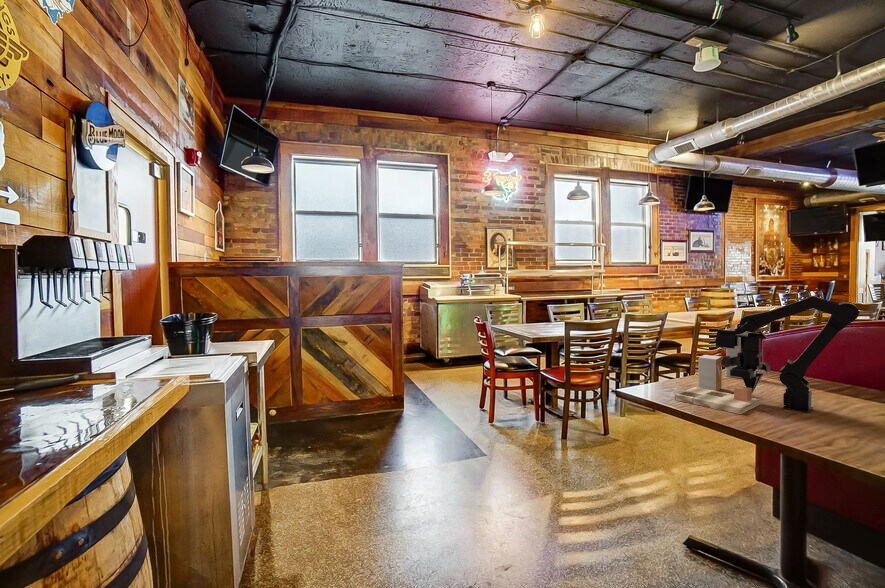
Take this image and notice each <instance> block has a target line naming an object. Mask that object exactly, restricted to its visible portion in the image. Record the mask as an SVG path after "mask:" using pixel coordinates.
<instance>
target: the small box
mask: <svg viewBox="0 0 885 588" xmlns="http://www.w3.org/2000/svg"><path fill="white" fill-rule="evenodd" d="M722 357H723V356H719V355H711V354H703V355H700V356H699V357H698V388H703V389H708V390H714V391H720V390H722V387H723V386H722V383H723V381H722V378H723V377H722V375H723V373H722V371H723V370H722V369H723V367H722V365H723V364H721V362H722V361H721V360H722Z"/></svg>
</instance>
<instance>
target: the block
mask: <svg viewBox="0 0 885 588" xmlns="http://www.w3.org/2000/svg"><path fill="white" fill-rule="evenodd" d="M733 394H734V399H736V400H741V401H746V402H748V401H750V400H752V398H753V393H752V388H748V387H746V386H741V385H738V386H736V387H734V388H733Z"/></svg>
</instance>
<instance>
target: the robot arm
mask: <svg viewBox="0 0 885 588" xmlns="http://www.w3.org/2000/svg"><path fill="white" fill-rule="evenodd" d="M811 309H813V310H817V311H821V312H823V313H826V314H829V315H830V316H829V318H828V320H827V322H826V324H825V325H824V326H823V328H822V329H821V330H820V331H819V332H818V334H817V335H816V336H815V337H814V339H812V341H811V342H810V343H809V344H808V345H807V347H806V348H805V349H804V350H803V352H802V353H800V355H799V356H798V357H797V358H796V359H795V360H793V361H792V360H790V359H787V362H786V363H785V365H784V366H782V367H781V368H780V370H779V373H780V374H779V381H780V382H781V384H782V385H783V386H785V387H786V389H785V391H784V392H783V395H782V396H783V397H782V398H783V400H782V401H783V408H784V409H787V410H791V411H792V410H793V411H798V412H803V413H809V412H811V411H812V410H813V409H814V407H813V406H812V401H813V400H812V394H813V393H812V390H810V386H811V383H810V382H809V381H808V380H807V379H806V378H805V375H806V373H807V371H808V370H809V367H810V366H811V365H812V363H814V361H815V360H816V359H817V357H818V356H819V355H820V354H821V353H822V352H823V351H824V350H825V348H826V347H827V346H828V345H829V344H830V343H831V341H833V339H834V338H835V337H836V336H837V334H838V333H839V332H841V331H842V330H843V329H845V328H847V326H849V325H850V324H852V323H853V322H854V321H855V320H857V319H858V317H859V315H860V311H859V310H860V309H859V308H858V307H857V306H856V304H854V303H852V302H848V301H847V302H846V301H845V302H838V301H833V300H830V299H825V298H823V297H819V296H816V295H810V296H808V297H806V298H803V299H801V300H797V301H794V302H792V303H791V302H790V303H789V304H785V305H783V306H780V307H777V308H775V309H771V310H767V311H762V312H756V313H749V314H747V315H744V316H743V317H742V318H740V321H739V326H738V328H737V327H735V328H736V329H735V330H728V329H723V328H718V329H716V336H715V340H714V341H715V347H716V348H721V349H727V348H732V349H735V347H736V346H739V337H741V352H739V353H738V354H737V356H734V357H730V356H725V355H724V356H721V357H722V360H721V361H722V362H721V364H722V365H723V366H724V369H725V368H727V367H729V366H735V365H737V367H734V368H732V369H731V370H730V376H735V377H741V378H740V379H742V380H743V382H744V387H748V388H752V394H753V393H754V391H755V389H756V388H757V386H758V384H759V382H760V381H761V379H762V378H763V376H764V374H765V373H768V372H771V365H770V364H769V363H768V362H764V361H763V362H762V361H761V357H763V352H761V340H763V339H764V340H765V339H767V338H768V335H766V334H765V333H764V332H763V331H762V330H760V331H759V332H756V331H757V330H759V329H761V328H763V327H765V326H767V325H769V324H771V323H773V322H775V321H779V320H782V319H784V318H787V317H791V316H793V315H796V314H800V313H803V312H806V311H809V310H811ZM746 331H747V332H751V333H748V335H738V334H742V333H744V332H746ZM759 370H762V371H764V372H765V373H760V371H759Z"/></svg>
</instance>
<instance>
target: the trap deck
mask: <svg viewBox="0 0 885 588" xmlns="http://www.w3.org/2000/svg"><path fill="white" fill-rule="evenodd" d="M760 400H761V399H760V398H755V397H752V400H750V401H748V402H746V401H741V400H736V399H734V393H729V392H723V391H720V390H718V391H714V390H708V389H703V388H698V387H696V386H694V387H692V388H689V389H686V390H684V391H681V392H678V393H675V394H674V401H677V402H678V401H679V402H683V403H688V404H690V405H691V404H692V405H697V406H701V407H704V408H705V407H706V408H710V409H715V410H719V411H722V412H724V411H725V412H729V413H733V414H738V415H742V414H744V413H746V412H748V411H750V410H752V409H754V408H756V407H759V406H760V405H761V401H760Z"/></svg>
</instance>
